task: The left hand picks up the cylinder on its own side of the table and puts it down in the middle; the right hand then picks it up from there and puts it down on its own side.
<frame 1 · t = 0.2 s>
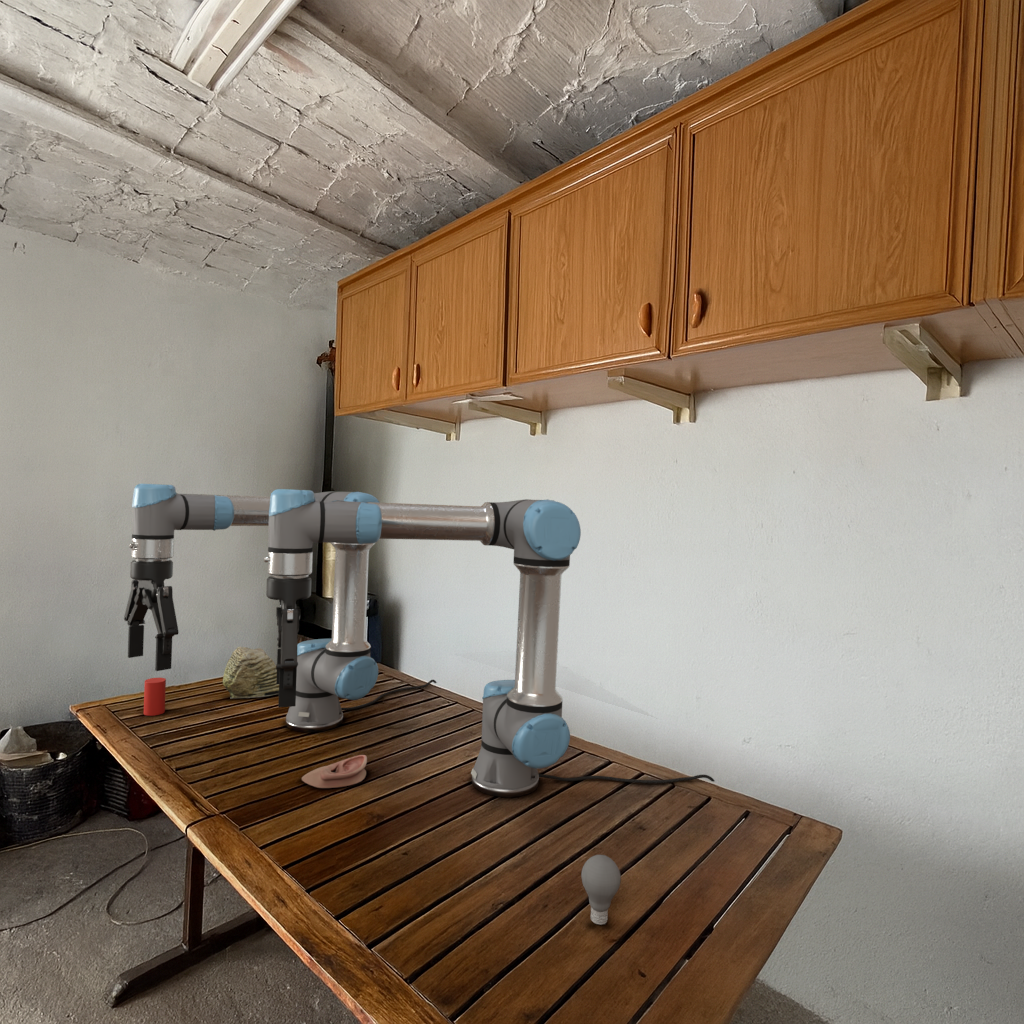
left hand: (148, 663, 129), 28 cm above the table, tool pointing down, fingers open, 13 cm apart
right hand: (285, 694, 113), 28 cm above the table, tool pointing down, fingers open, 13 cm apart
cylinder: (154, 712, 179), on the table
anatomical model: (334, 778, 143), on the table
light bulb: (598, 923, 97), on the table
fossil: (254, 694, 198), on the table
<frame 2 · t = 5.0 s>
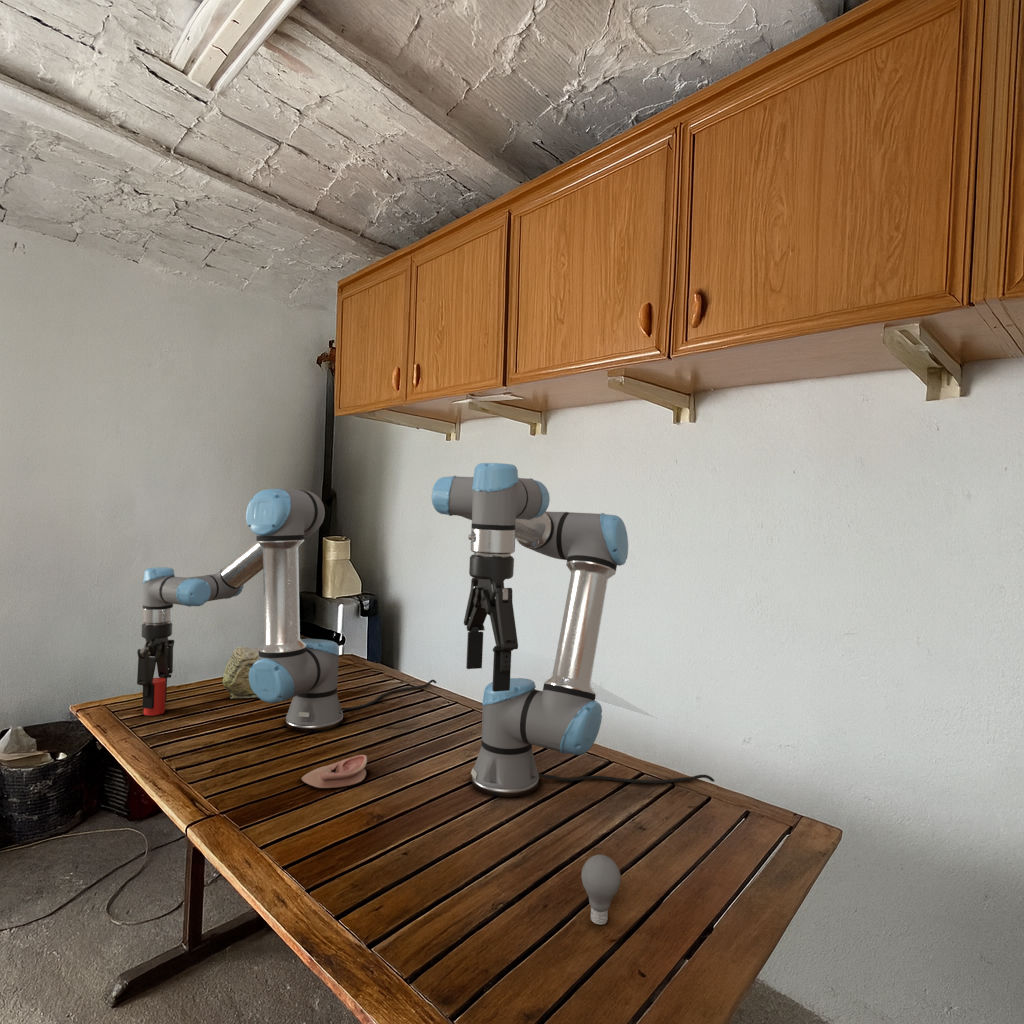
left hand: (154, 704, 179), 2 cm above the table, tool pointing down, fingers closed on cylinder, 5 cm apart
right hand: (486, 678, 108), 34 cm above the table, tool pointing down, fingers open, 13 cm apart
cylinder: (154, 712, 179), on the table, touching left hand
everything else where it was.
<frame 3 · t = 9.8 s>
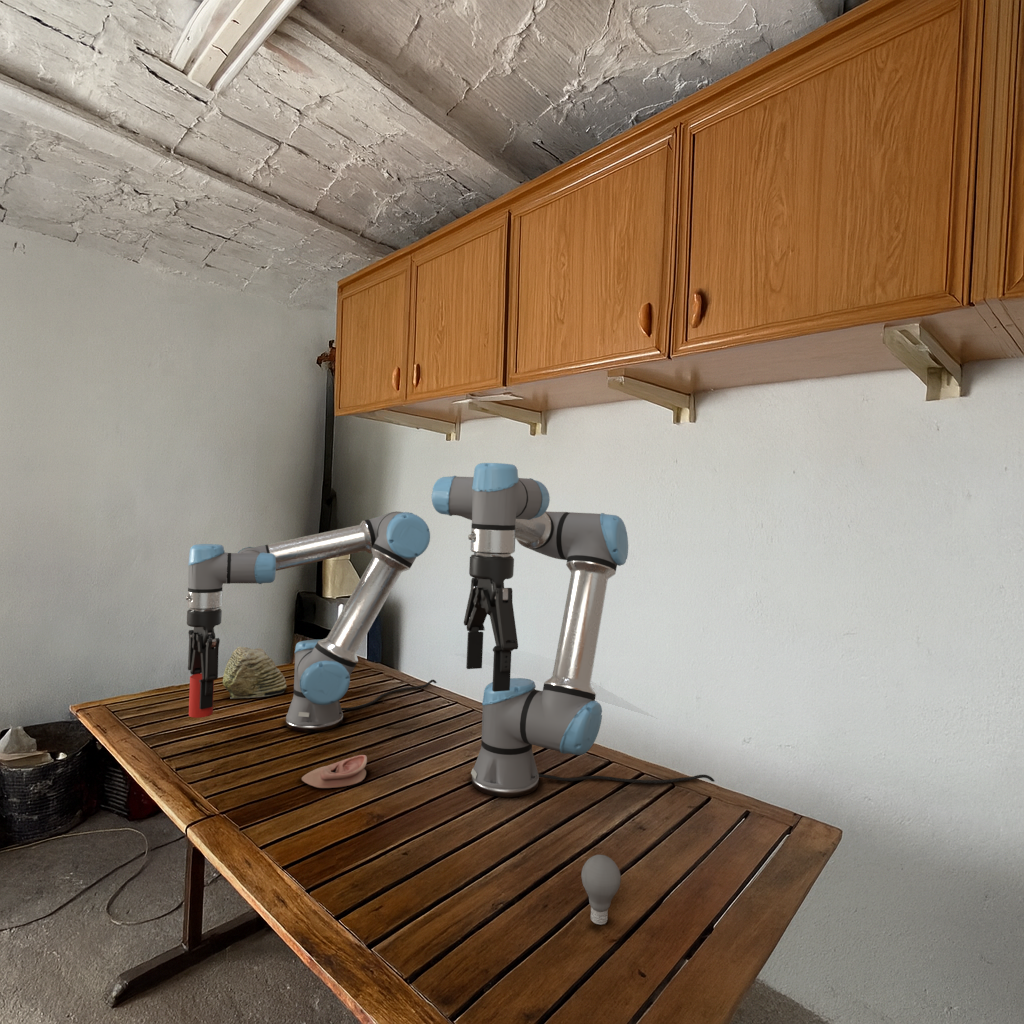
left hand: (201, 704, 153), 12 cm above the table, tool pointing down, fingers closed on cylinder, 5 cm apart
right hand: (486, 678, 108), 34 cm above the table, tool pointing down, fingers open, 13 cm apart
cylinder: (200, 714, 153), point 10 cm above the table, touching left hand
everything else where it was.
when the left hand's fingers open (4 cm above the table, at t = 15.1 s): cylinder drops 2 cm, on the table.
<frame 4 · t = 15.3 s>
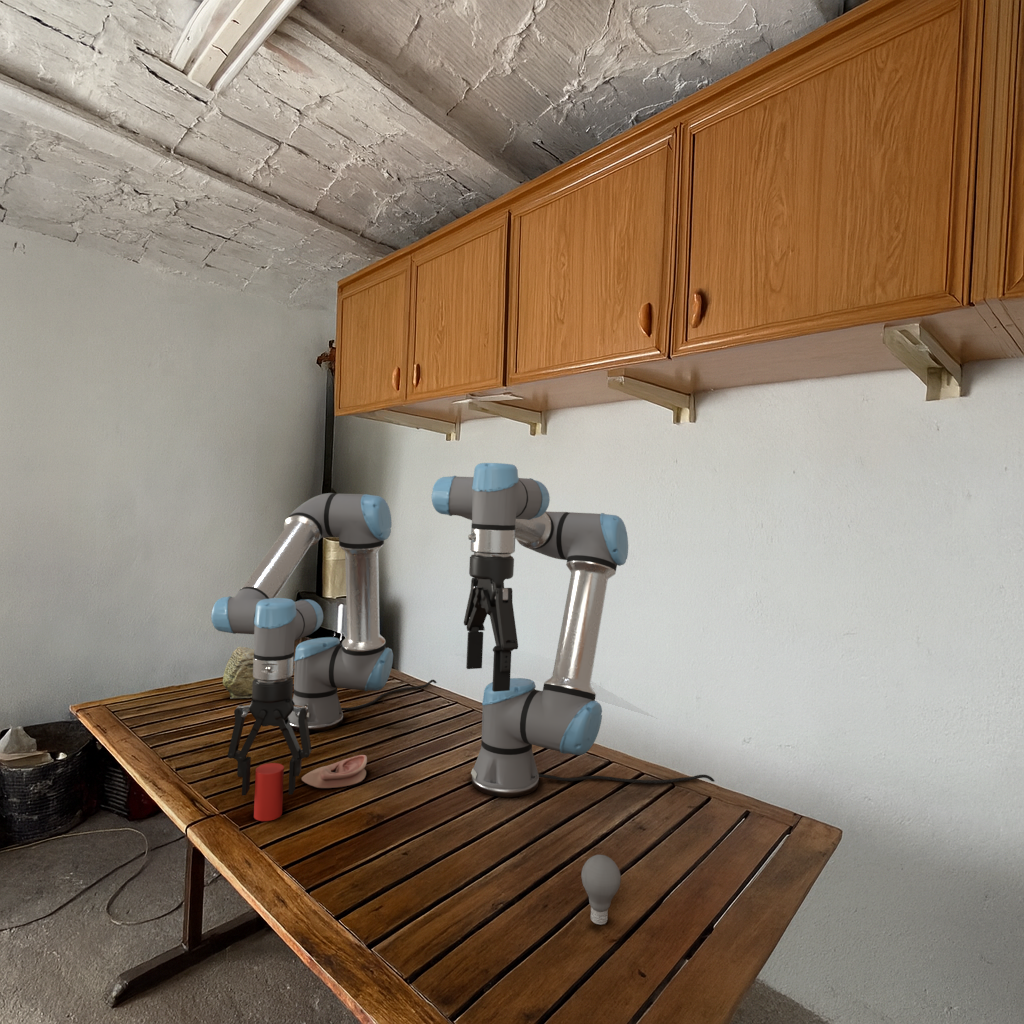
left hand: (268, 791, 125), 5 cm above the table, tool pointing down, fingers open, 8 cm apart
right hand: (486, 678, 108), 34 cm above the table, tool pointing down, fingers open, 13 cm apart
cylinder: (268, 814, 126), on the table
everything else where it was.
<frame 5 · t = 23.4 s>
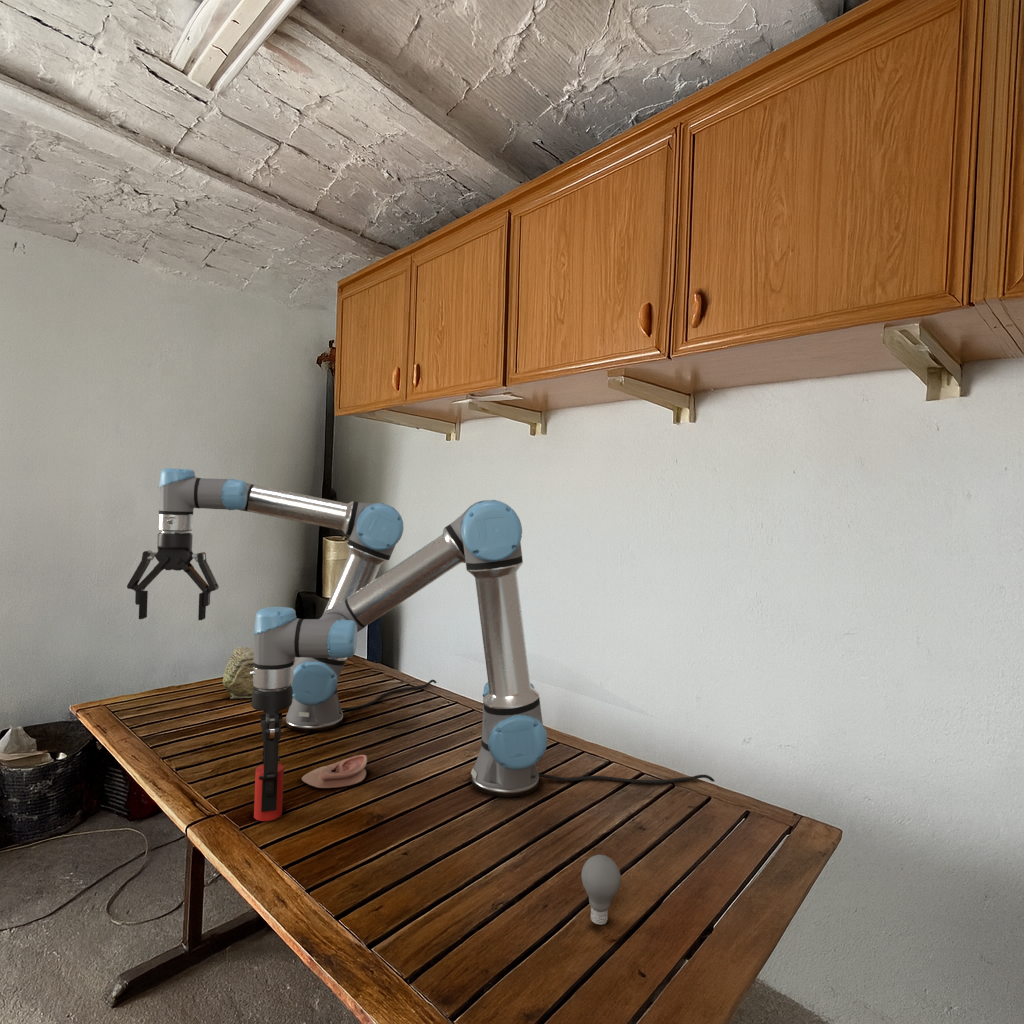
left hand: (172, 618, 155), 32 cm above the table, tool pointing down, fingers open, 13 cm apart
right hand: (268, 802, 125), 2 cm above the table, tool pointing down, fingers closed on cylinder, 5 cm apart
cylinder: (268, 814, 126), on the table, touching right hand
everything else where it was.
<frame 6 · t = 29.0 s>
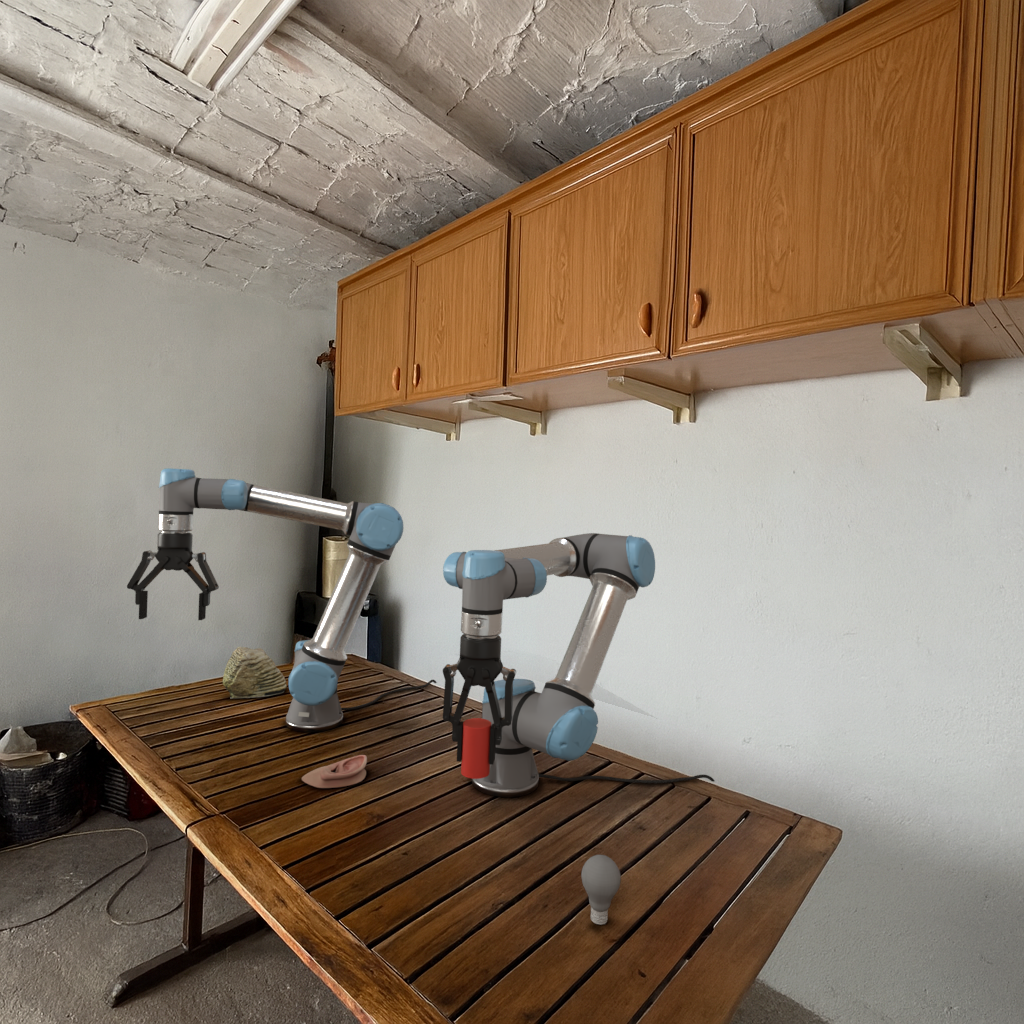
left hand: (172, 618, 155), 32 cm above the table, tool pointing down, fingers open, 13 cm apart
right hand: (475, 759, 117), 16 cm above the table, tool pointing down, fingers closed on cylinder, 5 cm apart
cylinder: (475, 772, 117), point 14 cm above the table, touching right hand
everything else where it was.
when the right hand's fingers open (4 cm above the table, at t = 34.6 s): cylinder drops 2 cm, on the table.
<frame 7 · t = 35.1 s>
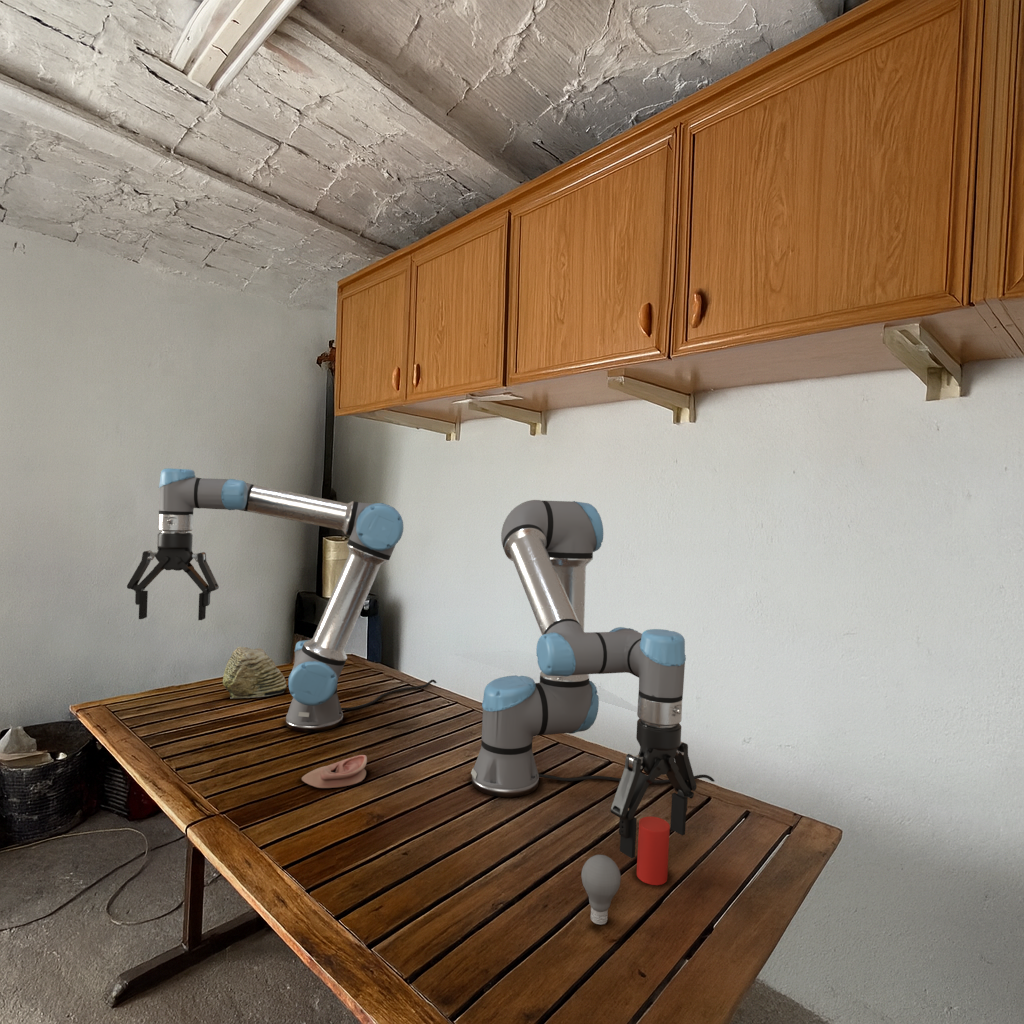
left hand: (172, 618, 155), 32 cm above the table, tool pointing down, fingers open, 13 cm apart
right hand: (653, 842, 110), 6 cm above the table, tool pointing down, fingers open, 13 cm apart
cylinder: (651, 876, 110), on the table
everything else where it was.
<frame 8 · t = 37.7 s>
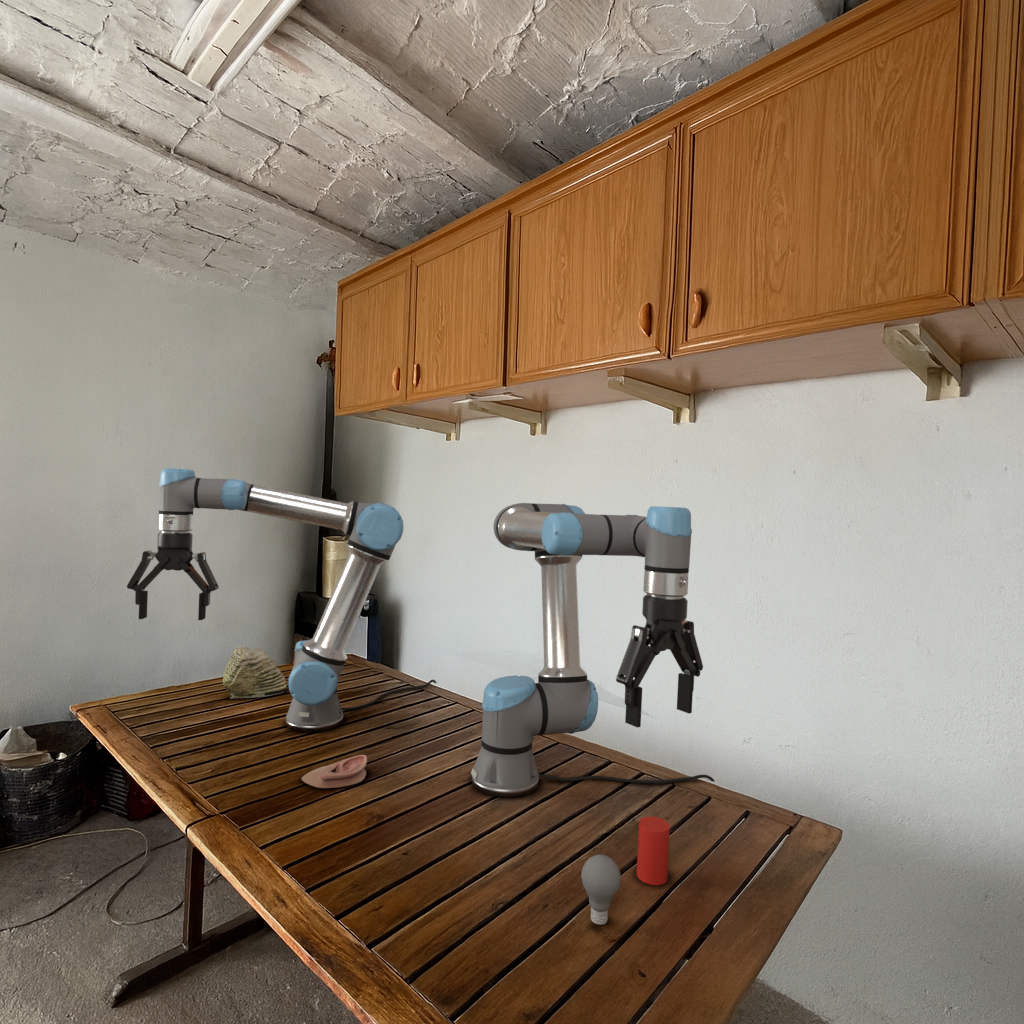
left hand: (172, 618, 155), 32 cm above the table, tool pointing down, fingers open, 13 cm apart
right hand: (659, 717, 110), 28 cm above the table, tool pointing down, fingers open, 13 cm apart
nothing on the table moved.
at the end: cylinder inside the target area (0.0 cm from its centre), on the table; cylinder tilted 0°; the two hands never held the cylinder at the same time; the left hand is holding nothing; the right hand is holding nothing; cylinder at rest at the end (0.0 cm/s) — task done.
